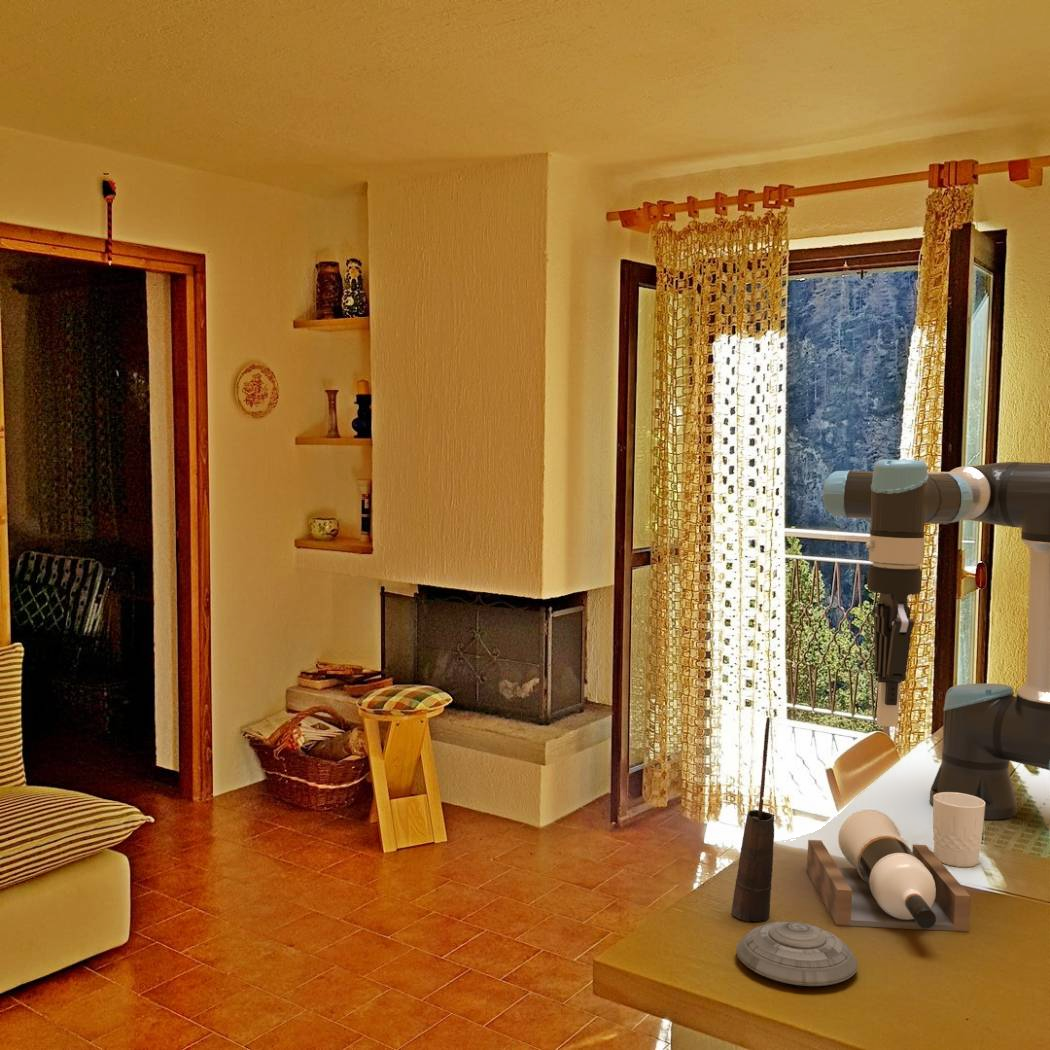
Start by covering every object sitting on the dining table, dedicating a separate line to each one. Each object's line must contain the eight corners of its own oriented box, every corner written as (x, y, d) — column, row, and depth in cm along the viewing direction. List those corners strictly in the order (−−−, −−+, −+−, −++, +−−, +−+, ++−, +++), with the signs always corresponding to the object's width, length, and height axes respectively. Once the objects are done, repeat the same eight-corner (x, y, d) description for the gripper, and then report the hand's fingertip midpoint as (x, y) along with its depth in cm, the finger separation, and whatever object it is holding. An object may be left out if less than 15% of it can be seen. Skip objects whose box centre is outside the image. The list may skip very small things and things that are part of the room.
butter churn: (761, 939, 149) (770, 732, 147) (702, 917, 155) (710, 719, 154) (797, 919, 155) (806, 721, 154) (738, 899, 162) (746, 709, 160)
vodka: (878, 797, 174) (941, 873, 144) (907, 847, 174) (976, 933, 145) (826, 825, 175) (877, 907, 145) (855, 875, 175) (913, 967, 145)
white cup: (983, 872, 176) (986, 809, 175) (929, 864, 178) (933, 803, 178) (981, 855, 183) (984, 795, 182) (930, 848, 186) (933, 789, 185)
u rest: (806, 871, 174) (808, 839, 174) (924, 876, 173) (925, 845, 173) (835, 925, 154) (837, 889, 154) (968, 931, 153) (970, 896, 153)
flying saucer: (882, 988, 137) (884, 944, 136) (772, 1002, 132) (774, 957, 132) (816, 936, 151) (818, 896, 150) (715, 947, 147) (717, 907, 146)
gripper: (858, 560, 169) (850, 714, 171) (880, 569, 156) (872, 735, 158) (908, 562, 169) (900, 715, 170) (935, 571, 156) (926, 737, 157)
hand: (887, 725), depth 164 cm, fingers closed
